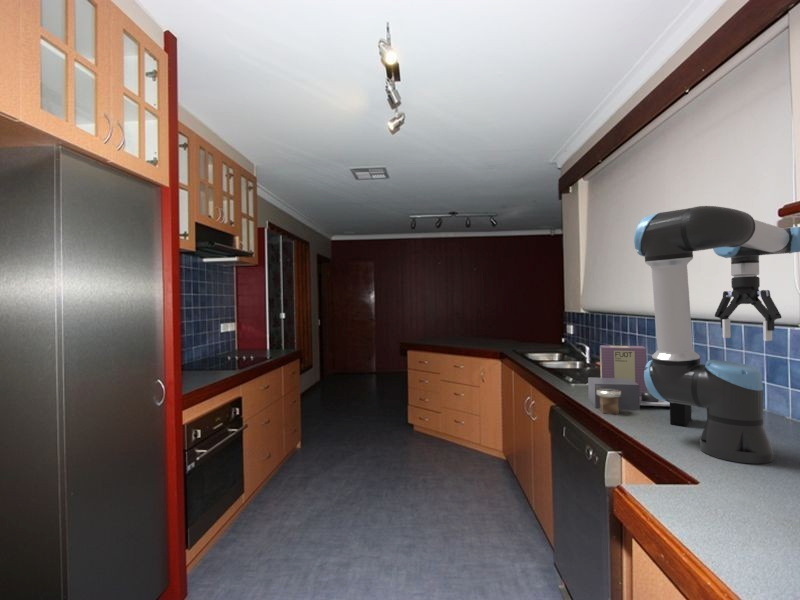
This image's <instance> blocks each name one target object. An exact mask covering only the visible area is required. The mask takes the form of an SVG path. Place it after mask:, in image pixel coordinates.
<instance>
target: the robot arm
mask: <svg viewBox="0 0 800 600" xmlns="http://www.w3.org/2000/svg"><path fill="white" fill-rule="evenodd" d="M633 235H634V237H633V244H634V249H635V250H636V253H637V255H640V256H641V257H644V263H645V264H646V265H648V266H649V267H650V268H651V278H652V291H653V292H652V293H653V305H654V306H653V308H654V320H655V333H656V334H655V335H656V337H655V338H656V347H657V349H656V351H655V352H654V353H653V354H652V355H651V360H649V361H648V362H647V364H646V366H645V368H646V370H645V371H644V380H645V384H646V387H647V391H649V393H650V394H651V395H652V396H653V397H655V398H656V399H659V400H663V401H667V402H669V403H678V404H684V405H690V406H691V407H697V408H703V409H706V423H705V426H704V428H703V431H702V434H701V435H700V438H699V449H700V451H701V452H702V453H705V454H706V455H709V456H711V457H714V458H717V459H719V460H720V459H721V460H725V461H730V462H735V463H743V464H745V463H746V464H759V465H760V464H768V463H771V462H773V461H774V450H773V447H772V444H771V442H770V440H769V438H768V437H769V436H768V435H767V433H766V430H765V427H764V389H765V388H764V384H763V376H762V373H761V371H760V370H759V369H758V368H757V367H754V366H752V365H748V364H746V363H740V362H735V361H730V360H720V359H709V360H706V362H705V364H704V363H703V364H702V363H701V356H700V355H699V353H697V352H696V351H695V350H694V347H693V335H692V334H693V333H692V332H693V331H692V318H691V305H690V289H689V274H688V264H689V263H690V262H691V261H692V260H693V259H694V252H699V251H706V250H713V252H714V254H716V255H717V256H718V257H721V258H725V259H728V258H730V275H731V276H732V278H731V288H732V291H731V290H725V291H723V293H722V298H721V301H720V303H719V305H718V307H717V309H716V311H715V314H714V318H718V319H719V320H720V329H722V338H723V339H730V338H731V336H732V335H731V330H732V329H731V319H730V318H729V317H730V316H731V315H732V313H734V312H735V311H736V309H737V308H738V306H740V305H752V306H753V307H754V308H755V309H756V310H757V311H758V312H759V313H760V315H761V316H762V317H763V318H764V320H763V321H762V323H763V326H762V329H763V341H764V342H770V341H771V342H772V341H773V331H775V330H776V329H775V321H776V320H779V319H782V315H781V313H780V311H779V309H778V308H777V305H776V303H775V302H774V300H773V299H772V297H771V291H770V290H769V289H761V290H760V289H759V288H760V282H761V280H760V277H759V275H760V256H765V255H766V256H768V255H780V254H781V255H782V254H794V253H800V226H795V227H794V226H793V227H792V226H790V227H786V228H785V227H781V226H780V227H779V226H776V225H772V224H770V223H766V222H764V221H759V220H757V219H754V217H753V216H752V215H751V214H749V213H748V212H745V211H742V210H738V209H736V208H735V209H734V208H730V207H725V206H718V205H717V206H716V205H699V206H693V207H689V208H682V209H675V210H670V211H663V212H656V213H654V214H651V215H647V216H645V217H643V218H642V219H641V220H640V221H639V223H638V224H637V226H636V228H635V231H634V234H633ZM759 297H760V298H761V299H760V298H759ZM731 299H732V300H731ZM763 303H764V304H763Z"/></svg>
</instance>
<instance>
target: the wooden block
mask: <svg viewBox="0 0 800 600" xmlns="http://www.w3.org/2000/svg"><path fill="white" fill-rule="evenodd" d="M599 410H600V412H601V413H602V414H604V415H605V414H608V415H619V409H618V397H617V398H608V397H601V396H600V408H599Z"/></svg>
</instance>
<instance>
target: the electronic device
mask: <svg viewBox="0 0 800 600" xmlns="http://www.w3.org/2000/svg"><path fill="white" fill-rule="evenodd" d="M669 421H670V425H673V426H674V425H675V426H679V427H680V426H681V427H687V426H688V424H689V423H690V422H692V406H690V405H684V404H678V403H670V406H669Z"/></svg>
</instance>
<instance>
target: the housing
mask: <svg viewBox="0 0 800 600" xmlns="http://www.w3.org/2000/svg"><path fill="white" fill-rule="evenodd" d="M587 383H588V384H587V388H588V402H590V404H591V405H592V404H593V405H594V406H593V405H592V406H593V407H594V408H595V409H600V396H598V395H597V391H596V390H597V389H616V390H620V391H621V397H618V410H639V411H640V410H641V405H640V396H639V384H637V383H636V382H634V381H632V380H631V379H629V378H601V377H588V378H587Z"/></svg>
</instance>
